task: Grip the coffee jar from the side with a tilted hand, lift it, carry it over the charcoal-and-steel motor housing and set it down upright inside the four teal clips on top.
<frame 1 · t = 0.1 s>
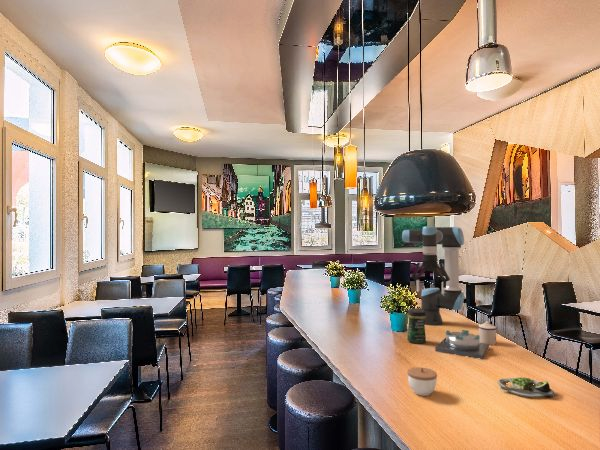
hand: (430, 292, 207), 28 cm above the table, tool pointing down, fingers open, 13 cm apart
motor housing: (462, 349, 196), on the table
lidded jar: (422, 392, 143), on the table
coffee jar: (416, 342, 209), on the table
salad plate: (527, 391, 146), on the table
teacup with lid: (486, 342, 210), on the table
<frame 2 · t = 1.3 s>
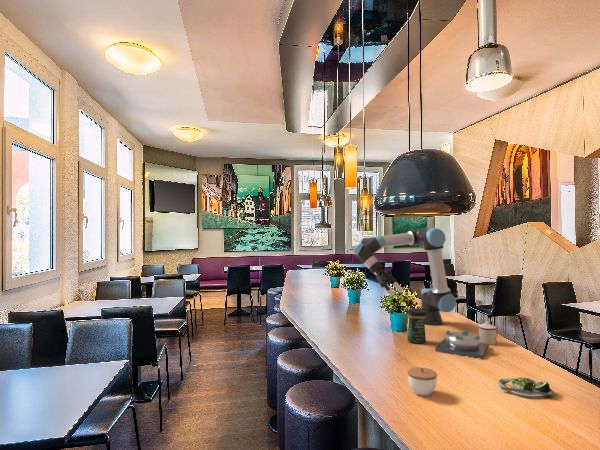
hand: (397, 293, 216), 26 cm above the table, tool tilted 45°, fingers open, 13 cm apart
nothing on the table moved.
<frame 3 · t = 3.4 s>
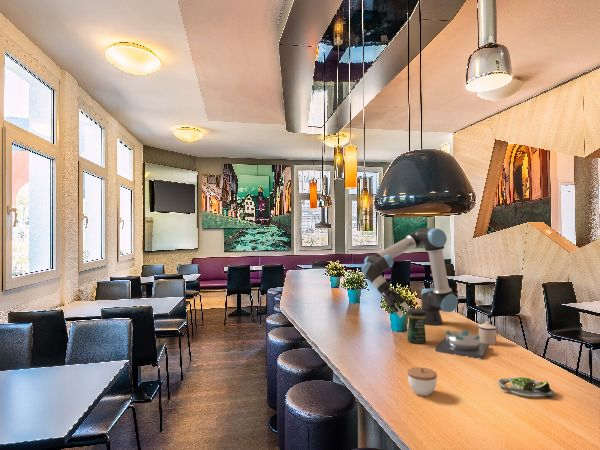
hand: (406, 314, 212), 15 cm above the table, tool tilted 45°, fingers open, 13 cm apart
nothing on the table moved.
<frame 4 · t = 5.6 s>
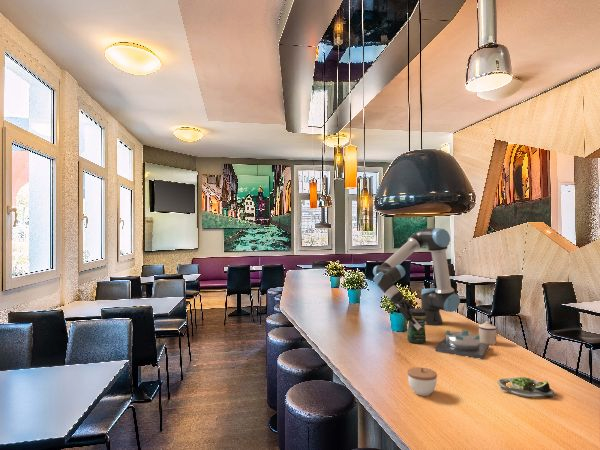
hand: (422, 326, 208), 9 cm above the table, tool tilted 45°, fingers closed on coffee jar, 9 cm apart
coffee jar: (416, 342, 209), on the table, touching gripper
everything else where it was.
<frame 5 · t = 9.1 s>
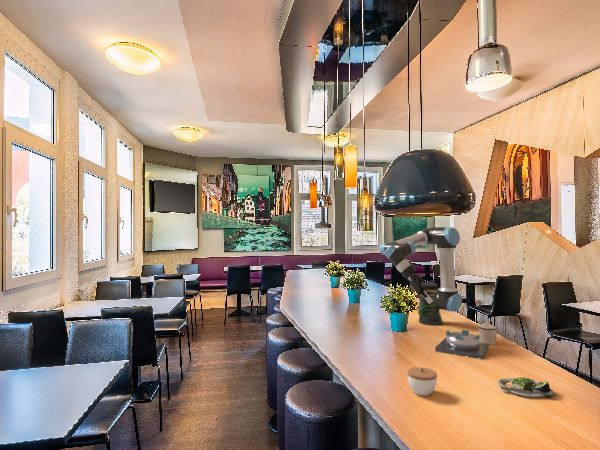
hand: (434, 300, 203), 24 cm above the table, tool tilted 45°, fingers closed on coffee jar, 9 cm apart
coffee jar: (427, 316, 205), point 15 cm above the table, touching gripper
everything else where it was.
when the fingers open (18 cm above the table, at t = 12.7 s): coffee jar drops 2 cm, resting on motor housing.
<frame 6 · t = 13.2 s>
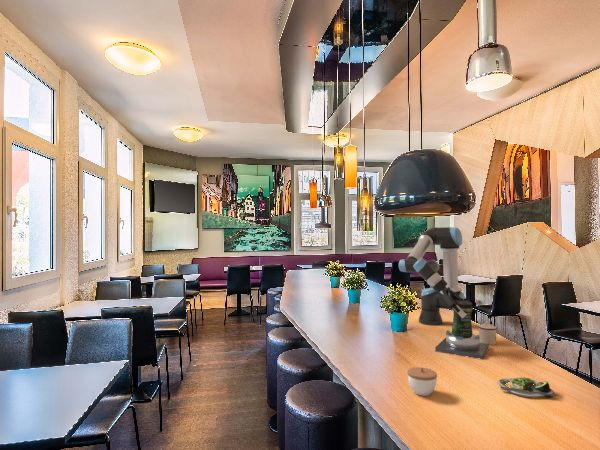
hand: (467, 314, 195), 19 cm above the table, tool tilted 45°, fingers open, 13 cm apart
coffee jar: (462, 336, 196), point 7 cm above the table, touching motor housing
everything else where it was.
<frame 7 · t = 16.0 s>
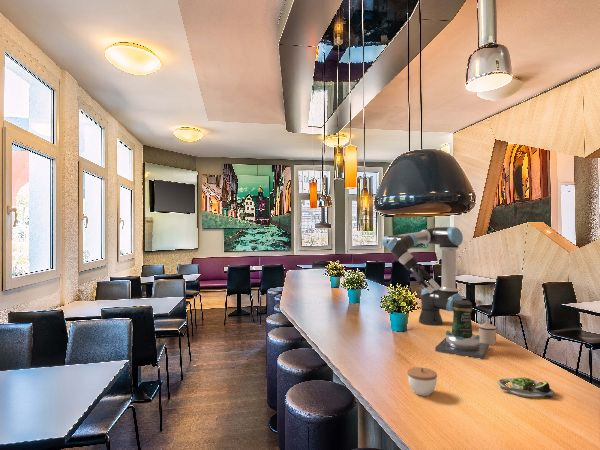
hand: (435, 290, 206), 29 cm above the table, tool tilted 45°, fingers open, 13 cm apart
nothing on the table moved.
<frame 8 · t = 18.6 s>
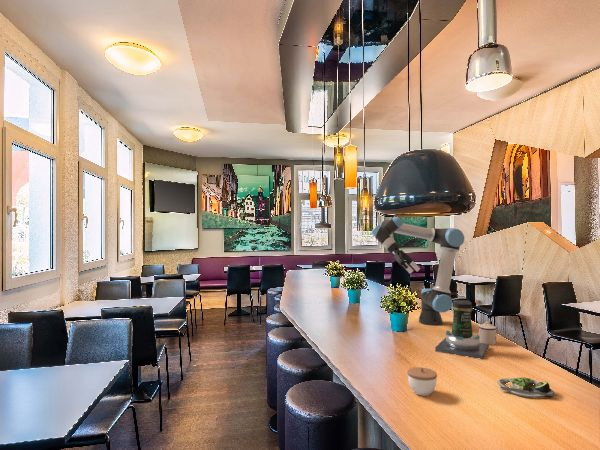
hand: (415, 271, 227), 38 cm above the table, tool tilted 45°, fingers open, 13 cm apart
nothing on the table moved.
at the end: coffee jar inside the target area on the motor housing (0.4 cm from its centre), point 6.8 cm above the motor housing's base; coffee jar tilted 0°; the gripper is holding nothing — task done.
